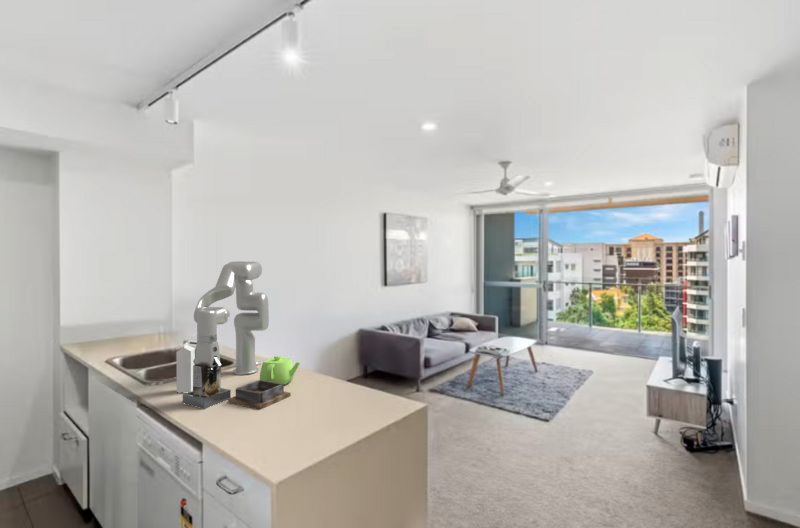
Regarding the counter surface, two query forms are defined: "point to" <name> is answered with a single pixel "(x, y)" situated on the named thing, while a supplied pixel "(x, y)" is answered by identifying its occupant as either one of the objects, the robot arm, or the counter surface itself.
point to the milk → (185, 368)
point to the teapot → (278, 370)
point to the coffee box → (205, 381)
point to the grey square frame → (208, 401)
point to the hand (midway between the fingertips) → (206, 380)
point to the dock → (259, 394)
